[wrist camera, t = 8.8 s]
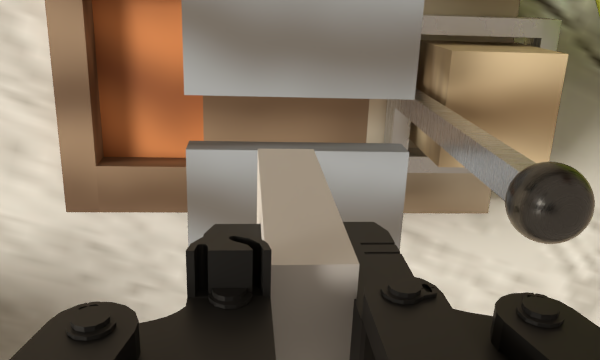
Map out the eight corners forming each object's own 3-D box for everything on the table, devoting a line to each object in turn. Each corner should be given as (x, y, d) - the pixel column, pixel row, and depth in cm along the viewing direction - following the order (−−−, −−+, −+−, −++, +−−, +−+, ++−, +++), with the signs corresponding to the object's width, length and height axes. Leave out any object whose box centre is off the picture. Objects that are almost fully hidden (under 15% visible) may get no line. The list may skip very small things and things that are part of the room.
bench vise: (53, -65, 33) (-52, -91, 21) (508, -45, 35) (631, -59, 24) (77, 197, 38) (3, 288, 27) (474, 199, 40) (561, 283, 29)
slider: (382, 12, 33) (557, 49, 14) (544, 18, 34) (913, 59, 15) (370, 162, 36) (503, 358, 17) (520, 164, 37) (804, 353, 18)
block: (418, 39, 34) (452, 50, 28) (516, 42, 34) (568, 54, 29) (408, 138, 36) (438, 167, 30) (501, 139, 36) (547, 168, 31)
